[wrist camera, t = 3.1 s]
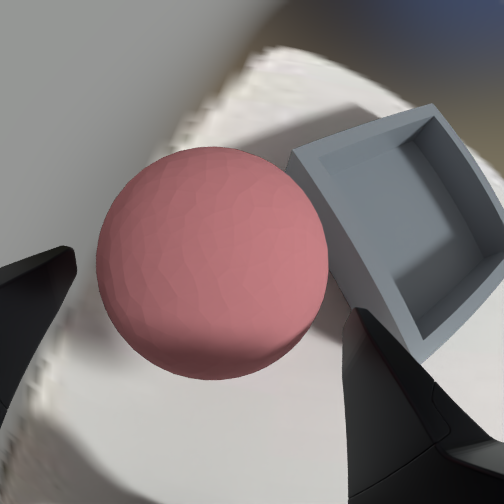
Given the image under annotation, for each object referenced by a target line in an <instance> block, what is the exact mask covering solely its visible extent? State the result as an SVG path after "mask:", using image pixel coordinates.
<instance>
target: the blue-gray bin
mask: <svg viewBox="0 0 504 504" xmlns="http://www.w3.org/2000/svg"><path fill="white" fill-rule="evenodd" d="M285 173H286V174H287V175H288V176H290V177H291V178H292V179H293V180H294V181H295V183H296V184H297V185H298V186H299V187H300V188H301V189H302V190H303V191H304V193H305V194H306V196H307V197H308V198H309V200H310V201H311V203H312V205H313V207H314V209H315V210H316V212H317V214H318V217H319V219H320V221H321V224H322V226H323V231H324V235H325V239H326V243H327V248H328V268H329V270H330V272H331V273H332V275H333V277H334V279H335V280H336V282H337V284H338V286H339V288H340V289H341V291H342V293H343V295H344V297H345V298H346V300H347V302H348V304H349V306H350V308H351V310H352V309H353V308H354V307H360V308H366V309H368V310H369V311H370V312H371V313H372V314H373V315H374V316H375V318H376V319H377V320H378V321H379V322H380V323H381V324H382V325H383V326H384V327H385V328H386V329H387V330H388V331H389V332H390V333H391V334H392V335H393V336H394V337H395V338H396V339H397V340H398V341H399V342H400V344H401V345H402V346H403V347H404V348H405V349H406V350H407V351H408V352H409V353H410V354H411V355H412V356H413V357H414V358H415V360H416V361H417V362H418V363H419V364H420V365H421V364H422V363H423V362H424V361H425V360H426V359H428V358H429V357H430V356H431V355H432V354H433V353H434V352H435V351H436V350H437V349H439V348H440V347H441V346H442V345H443V344H444V343H445V342H446V341H447V340H448V339H449V338H450V337H451V336H452V335H453V334H454V333H455V332H456V331H457V330H458V329H459V328H460V327H461V326H462V325H463V324H464V323H465V322H466V321H467V320H468V319H469V318H470V317H471V316H472V315H473V314H474V313H475V312H476V310H477V309H478V308H479V307H480V306H481V305H482V304H483V303H484V302H485V300H486V299H487V298H488V297H489V296H490V295H491V293H492V292H493V291H494V290H495V289H496V287H497V286H498V285H499V284H500V283H501V281H502V280H503V279H504V209H503V207H502V205H501V203H500V201H499V200H498V198H497V196H496V194H495V192H494V191H493V189H492V187H491V185H490V184H489V182H488V180H487V179H486V177H485V175H484V174H483V172H482V170H481V169H480V167H479V166H478V164H477V163H476V161H475V160H474V158H473V157H472V155H471V154H470V152H469V151H468V149H467V148H466V146H465V145H464V143H463V142H462V141H461V139H460V138H459V136H458V135H457V134H456V132H455V131H454V130H453V128H452V127H451V126H450V124H449V123H448V122H447V121H446V119H445V118H444V117H443V115H442V114H441V113H440V112H439V111H438V110H437V108H436V107H435V106H434V104H429V105H425V106H421V107H417V108H414V109H410V110H407V111H404V112H400V113H397V114H393V115H390V116H387V117H384V118H381V119H377V120H374V121H371V122H368V123H365V124H362V125H359V126H356V127H353V128H350V129H347V130H344V131H341V132H338V133H336V134H333V135H330V136H327V137H324V138H322V139H319V140H316V141H313V142H311V143H308V144H305V145H303V146H300V147H298V148H295V149H292V152H291V155H290V158H289V162H288V165H287V168H286V171H285Z"/></svg>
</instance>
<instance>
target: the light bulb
mask: <svg viewBox="0 0 504 504" xmlns="http://www.w3.org/2000/svg"><path fill="white" fill-rule="evenodd" d="M96 273H97V280H98V286H99V292H100V295H101V298H102V301H103V304H104V306H105V309H106V311H107V313H108V316H109V318H110V319H111V321H112V323H113V324H114V326H115V327H116V329H117V331H118V332H119V333H120V335H121V336H122V337H123V338H124V339H125V340H126V342H127V343H128V344H129V345H130V346H131V347H132V348H133V349H134V350H135V351H136V352H138V353H139V354H140V355H141V356H143V357H144V358H145V359H147V360H148V361H150V362H151V363H152V364H154V365H156V366H158V367H160V368H162V369H164V370H167V371H169V372H171V373H173V374H177V375H181V376H184V377H188V378H194V379H201V380H224V379H231V378H237V377H241V376H245V375H248V374H251V373H254V372H256V371H259V370H261V369H263V368H265V367H267V366H269V365H270V364H272V363H274V362H275V361H277V360H279V359H280V358H281V357H282V356H284V355H285V354H286V353H288V352H289V351H290V350H291V349H292V348H293V347H294V346H295V345H296V344H297V343H298V342H299V341H300V340H301V338H302V337H303V336H304V335H305V333H306V332H307V331H308V329H309V328H310V326H311V324H312V323H313V321H314V319H315V317H316V315H317V314H318V311H319V309H320V306H321V303H322V301H323V298H324V294H325V290H326V285H327V279H328V248H327V243H326V239H325V235H324V231H323V226H322V224H321V221H320V219H319V217H318V214H317V212H316V210H315V209H314V207H313V205H312V203H311V201H310V200H309V198H308V197H307V196H306V194H305V193H304V191H303V190H302V189H301V188H300V187H299V186H298V185H297V184H296V183H295V181H294V180H293V179H292V178H291V177H290V176H288V175H287V174H286V173H285V172H283V171H282V170H281V169H279V168H278V167H277V166H275V165H274V164H272V163H270V162H268V161H266V160H265V159H263V158H261V157H258V156H255V155H252V154H250V153H247V152H244V151H241V150H237V149H232V148H223V147H198V148H193V149H188V150H183V151H179V152H176V153H174V154H171V155H168V156H166V157H163V158H161V159H159V160H158V161H156V162H154V163H153V164H151V165H149V166H148V167H146V168H144V169H143V170H142V171H141V172H140V173H138V174H137V175H136V176H135V177H134V178H133V179H132V180H130V181H129V182H128V183H127V184H126V186H125V187H124V188H123V190H122V191H121V192H120V193H119V195H118V196H117V197H116V199H115V200H114V202H113V203H112V205H111V208H110V209H109V211H108V213H107V215H106V218H105V220H104V223H103V225H102V228H101V231H100V235H99V240H98V246H97V253H96Z"/></svg>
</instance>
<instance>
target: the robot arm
mask: <svg viewBox="0 0 504 504" xmlns="http://www.w3.org/2000/svg"><path fill="white" fill-rule="evenodd" d="M76 274H77V265H76V258H75V252H74V250H73V248H71V247H68V246H59V247H56V248H53V249H51V250H48V251H45V252H42V253H39V254H36V255H33V256H31V257H28V258H25V259H22V260H20V261H17V262H14V263H12V264H9V265H6V266H4V267H1V268H0V428H1V425H2V423H3V420H4V418H5V415H6V413H7V409H8V408H9V405H10V403H11V401H12V399H13V396H14V394H15V392H16V390H17V387H18V385H19V383H20V381H21V379H22V377H23V375H24V373H25V371H26V369H27V367H28V365H29V363H30V361H31V359H32V357H33V355H34V353H35V351H36V350H37V348H38V346H39V344H40V342H41V340H42V339H43V337H44V335H45V333H46V331H47V330H48V328H49V326H50V324H51V323H52V321H53V319H54V318H55V316H56V314H57V312H58V311H59V309H60V307H61V305H62V303H63V301H64V299H65V296H66V294H67V292H68V290H69V288H70V286H71V285H72V282H73V281H74V279H75V277H76ZM342 380H343V392H344V405H345V419H346V436H347V459H348V498H349V499H348V504H504V443H503V442H500V441H497V440H495V439H493V438H492V437H490V436H489V435H488V434H487V433H486V432H485V431H484V430H483V429H482V428H481V427H480V426H479V425H478V424H477V423H476V422H475V421H474V420H473V419H471V418H470V417H469V416H468V415H467V414H466V413H465V412H464V411H463V410H462V409H461V408H460V407H459V406H458V405H457V404H456V403H455V402H454V401H453V400H452V399H451V398H450V397H449V395H448V394H447V393H446V392H445V391H444V390H443V389H442V388H441V387H440V386H439V385H438V383H437V382H434V379H433V378H432V377H431V376H430V375H429V374H428V373H427V371H426V370H425V369H424V368H423V367H422V366H421V365H420V364H419V363H418V362H417V361H416V360H415V358H414V357H413V356H412V355H411V354H410V353H409V352H408V351H407V350H406V349H405V348H404V347H403V346H402V345H401V344H400V342H399V341H398V340H397V339H396V338H395V337H394V336H393V335H392V334H391V333H390V332H389V331H388V330H387V329H386V328H385V327H384V326H383V325H382V324H381V323H380V322H379V321H378V320H377V319H376V318H375V316H374V315H373V314H372V313H371V312H370V311H369V310H368V309H366V308H360V307H354V308H353V309H352V311H351V313H350V315H349V317H348V319H347V321H346V323H345V325H344V328H343V347H342Z"/></svg>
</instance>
